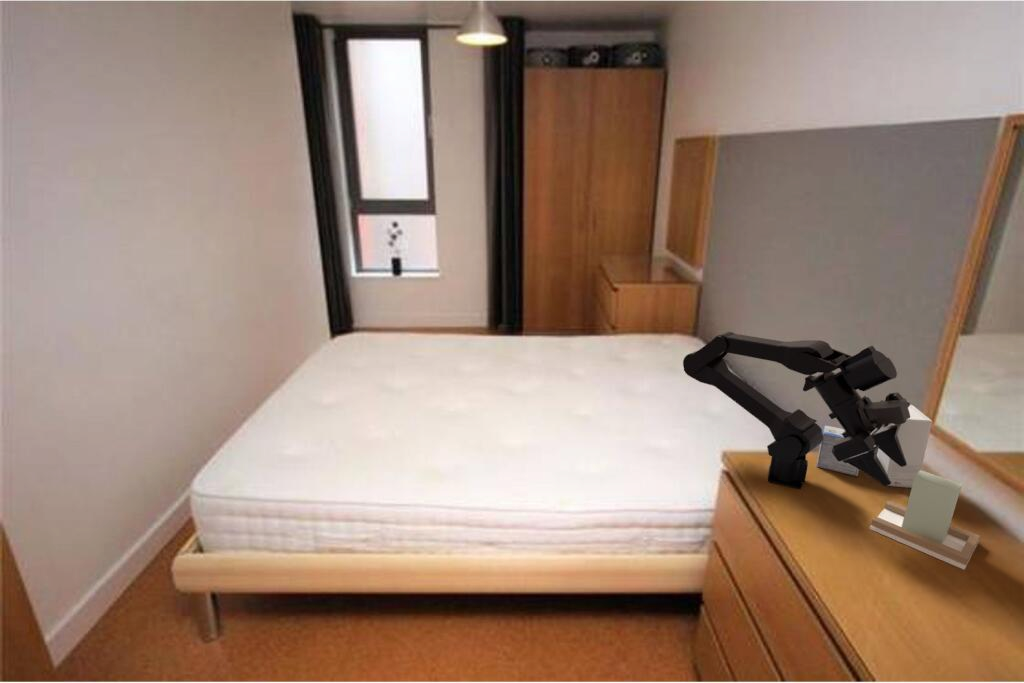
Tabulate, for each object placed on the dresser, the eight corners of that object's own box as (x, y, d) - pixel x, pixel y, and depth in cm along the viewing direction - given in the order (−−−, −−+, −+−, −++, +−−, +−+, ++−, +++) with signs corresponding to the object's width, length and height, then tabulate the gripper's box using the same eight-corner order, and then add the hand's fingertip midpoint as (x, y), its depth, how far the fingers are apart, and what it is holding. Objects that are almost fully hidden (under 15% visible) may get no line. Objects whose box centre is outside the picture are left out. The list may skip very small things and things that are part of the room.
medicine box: (857, 467, 119) (865, 433, 116) (857, 477, 115) (865, 441, 112) (817, 458, 123) (824, 424, 120) (815, 467, 119) (822, 432, 116)
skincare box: (917, 489, 111) (935, 422, 106) (881, 486, 112) (898, 419, 107) (898, 467, 118) (914, 403, 113) (865, 465, 120) (879, 401, 115)
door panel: (900, 529, 98) (914, 477, 95) (906, 520, 100) (920, 470, 97) (941, 545, 94) (957, 492, 90) (946, 537, 96) (962, 484, 92)
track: (869, 528, 99) (871, 520, 99) (887, 506, 105) (889, 499, 105) (964, 569, 89) (967, 561, 89) (978, 542, 95) (980, 534, 95)
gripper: (866, 397, 91) (927, 481, 87) (900, 369, 102) (956, 443, 98) (809, 421, 99) (862, 499, 95) (846, 393, 110) (896, 462, 106)
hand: (896, 475), depth 98 cm, fingers open, 9 cm apart
